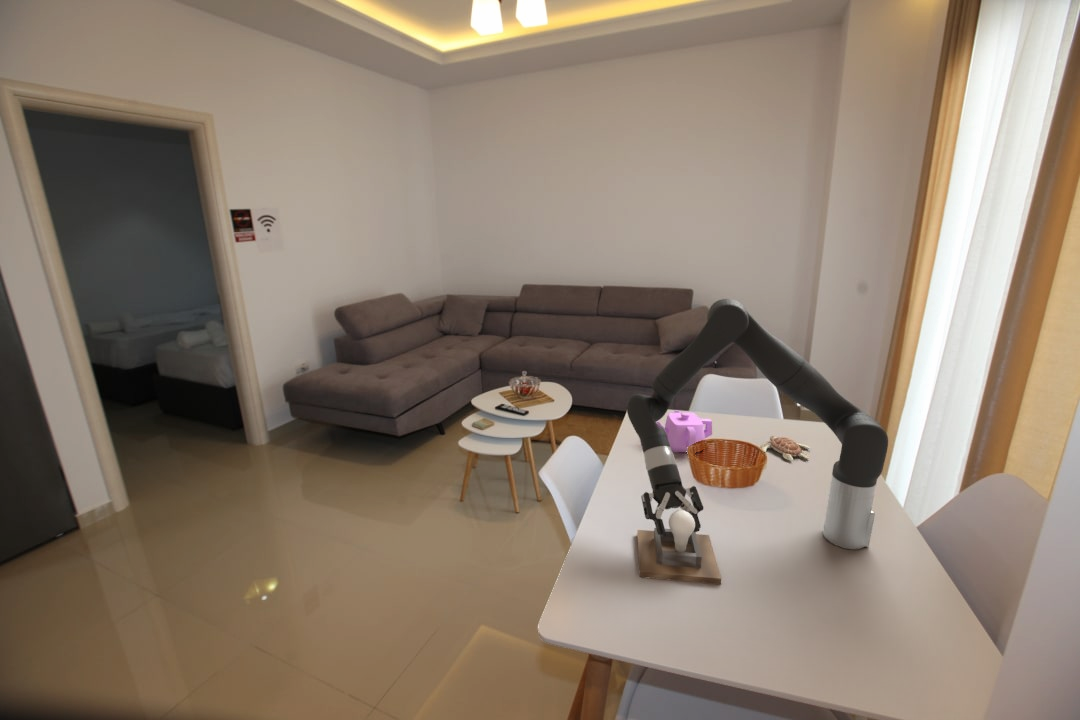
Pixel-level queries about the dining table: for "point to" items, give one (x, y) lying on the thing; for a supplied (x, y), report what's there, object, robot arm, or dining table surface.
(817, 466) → the dining table surface
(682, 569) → the bulb holder
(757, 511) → the dining table surface
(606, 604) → the dining table surface
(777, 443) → the decorative turtle
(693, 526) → the lightbulb
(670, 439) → the teakettle
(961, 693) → the dining table surface
